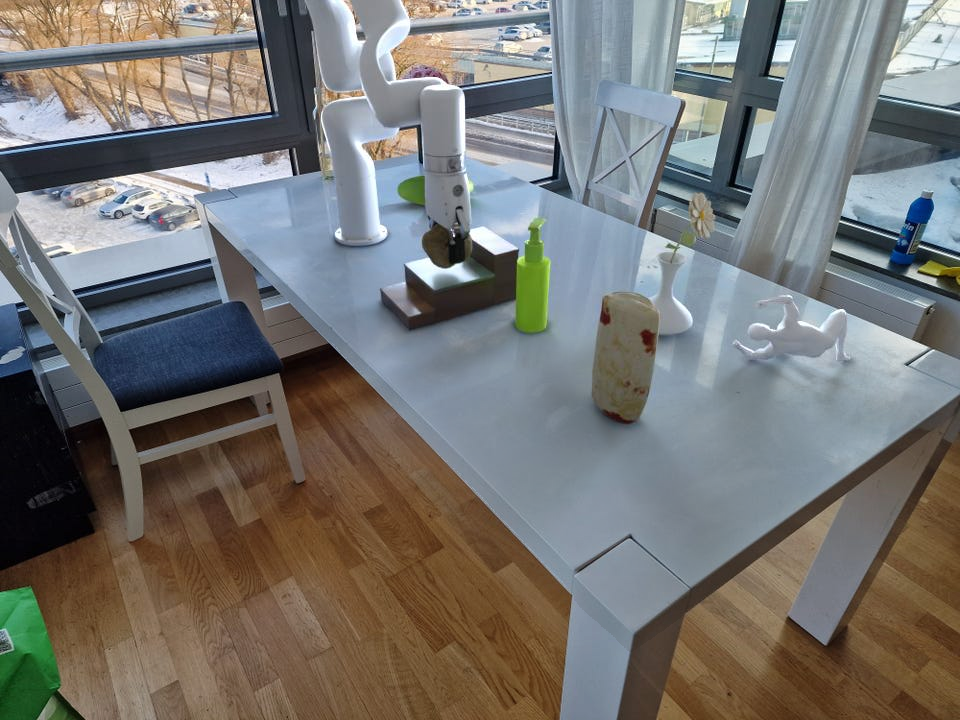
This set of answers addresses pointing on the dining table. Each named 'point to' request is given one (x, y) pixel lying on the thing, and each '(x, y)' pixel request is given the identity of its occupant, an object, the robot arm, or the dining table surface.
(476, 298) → the step shelf
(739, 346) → the person figurine
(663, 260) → the flower in vase
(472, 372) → the dining table surface
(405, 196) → the green rounded oblong
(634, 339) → the food model
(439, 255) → the fossil
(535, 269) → the soap dispenser
